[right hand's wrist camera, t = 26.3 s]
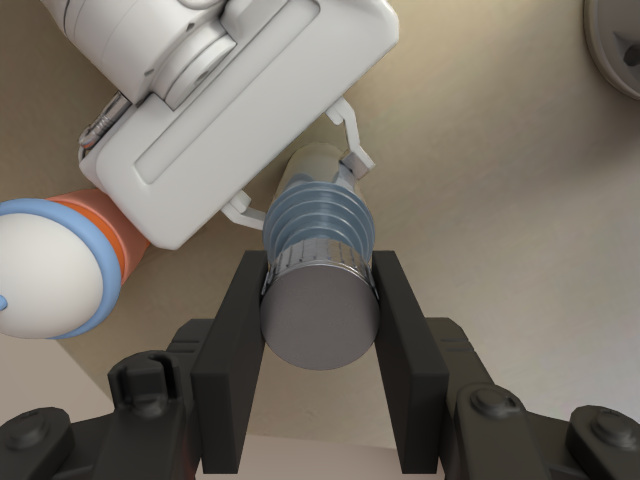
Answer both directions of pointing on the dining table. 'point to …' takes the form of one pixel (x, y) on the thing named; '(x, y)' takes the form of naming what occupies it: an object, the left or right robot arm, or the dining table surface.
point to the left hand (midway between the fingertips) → (328, 204)
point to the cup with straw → (63, 263)
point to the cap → (319, 305)
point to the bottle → (318, 204)
